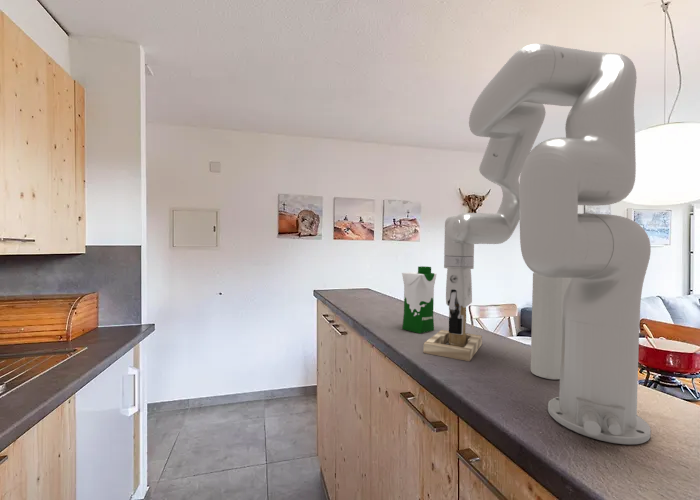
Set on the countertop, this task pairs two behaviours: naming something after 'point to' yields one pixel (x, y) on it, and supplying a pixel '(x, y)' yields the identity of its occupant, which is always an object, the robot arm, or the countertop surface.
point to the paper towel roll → (547, 325)
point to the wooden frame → (462, 353)
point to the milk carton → (419, 300)
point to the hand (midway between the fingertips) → (457, 330)
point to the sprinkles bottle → (461, 338)
